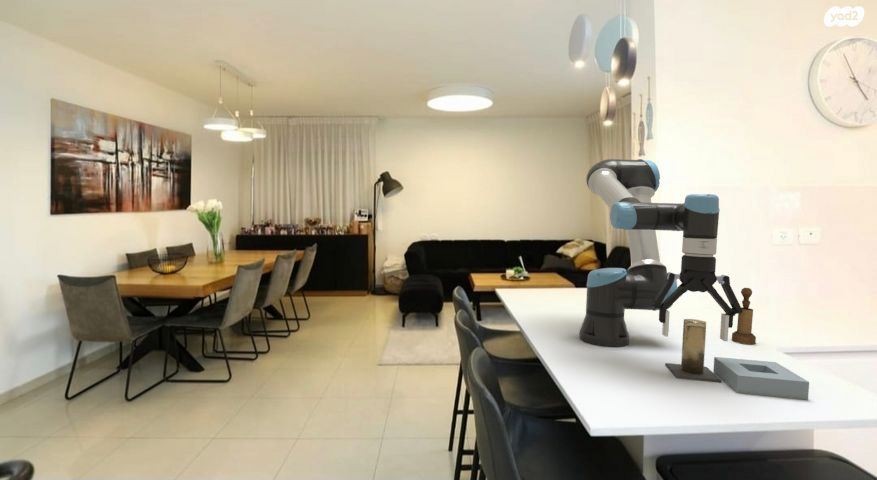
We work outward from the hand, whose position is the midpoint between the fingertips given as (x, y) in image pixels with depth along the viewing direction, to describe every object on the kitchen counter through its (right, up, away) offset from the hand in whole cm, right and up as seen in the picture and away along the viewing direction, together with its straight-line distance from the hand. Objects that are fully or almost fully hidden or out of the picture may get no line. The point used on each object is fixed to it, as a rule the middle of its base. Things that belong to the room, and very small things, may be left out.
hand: (694, 337), depth 112 cm
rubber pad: (0, -9, 0) cm, 9 cm away
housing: (+11, -10, -6) cm, 16 cm away
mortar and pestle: (+35, -9, +32) cm, 49 cm away
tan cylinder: (0, -9, 0) cm, 9 cm away
